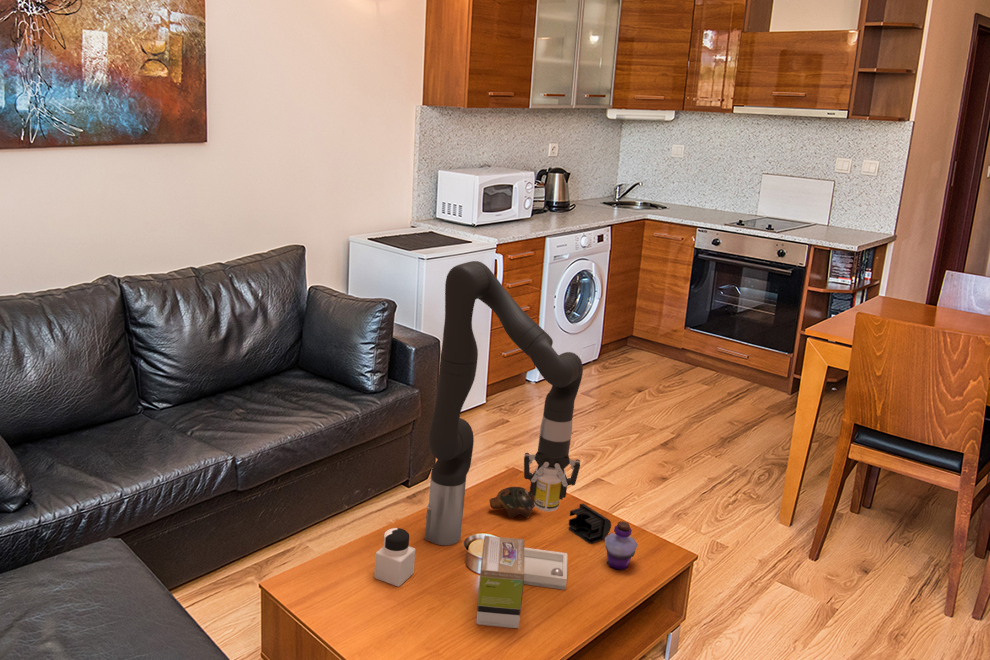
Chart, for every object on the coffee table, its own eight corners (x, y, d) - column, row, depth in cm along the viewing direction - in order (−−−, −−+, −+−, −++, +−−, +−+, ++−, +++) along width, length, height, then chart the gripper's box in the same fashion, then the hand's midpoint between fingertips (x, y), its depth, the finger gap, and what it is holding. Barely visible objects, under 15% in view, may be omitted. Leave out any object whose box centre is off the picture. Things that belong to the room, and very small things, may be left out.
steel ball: (549, 581, 207) (551, 571, 206) (550, 575, 210) (551, 564, 209) (561, 583, 207) (563, 572, 206) (562, 576, 210) (563, 566, 209)
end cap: (609, 538, 232) (613, 516, 230) (591, 545, 228) (594, 523, 226) (584, 522, 239) (587, 501, 237) (566, 528, 235) (569, 507, 233)
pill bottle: (558, 502, 210) (564, 461, 206) (558, 513, 204) (563, 472, 201) (534, 498, 210) (539, 458, 207) (532, 510, 204) (537, 469, 201)
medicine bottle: (414, 573, 207) (417, 530, 203) (398, 587, 200) (402, 543, 197) (389, 564, 209) (392, 521, 206) (373, 578, 203) (376, 534, 200)
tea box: (478, 587, 204) (484, 533, 200) (519, 591, 204) (526, 537, 199) (475, 625, 189) (480, 568, 185) (519, 630, 189) (526, 573, 185)
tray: (508, 582, 207) (510, 571, 206) (512, 556, 218) (513, 546, 218) (565, 589, 206) (566, 579, 205) (565, 563, 218) (567, 553, 217)
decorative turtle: (545, 520, 238) (547, 496, 235) (493, 525, 235) (494, 500, 232) (536, 502, 247) (538, 478, 244) (486, 506, 244) (487, 482, 241)
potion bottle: (640, 569, 218) (647, 528, 215) (615, 576, 214) (621, 535, 210) (619, 552, 225) (626, 512, 222) (594, 559, 221) (600, 519, 217)
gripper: (524, 436, 198) (517, 499, 203) (585, 444, 197) (576, 507, 202) (526, 424, 205) (519, 485, 210) (585, 431, 205) (576, 493, 209)
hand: (547, 496), depth 206 cm, fingers closed on pill bottle, 6 cm apart
